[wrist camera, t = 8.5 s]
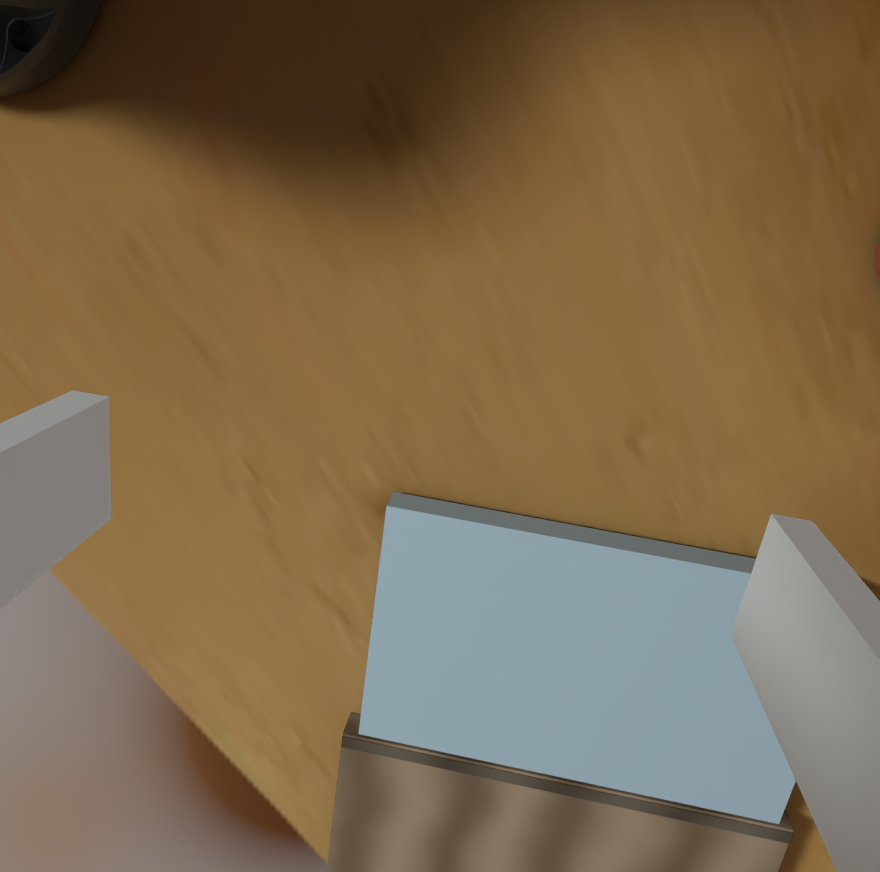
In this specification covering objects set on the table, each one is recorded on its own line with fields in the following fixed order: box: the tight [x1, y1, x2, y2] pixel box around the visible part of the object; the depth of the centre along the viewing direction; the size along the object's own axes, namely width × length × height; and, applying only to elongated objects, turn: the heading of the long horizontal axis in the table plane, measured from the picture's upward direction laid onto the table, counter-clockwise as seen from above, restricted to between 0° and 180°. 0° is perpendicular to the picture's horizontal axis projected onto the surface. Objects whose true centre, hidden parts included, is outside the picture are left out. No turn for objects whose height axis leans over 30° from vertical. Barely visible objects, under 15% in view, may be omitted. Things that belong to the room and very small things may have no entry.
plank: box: [358, 492, 796, 824], centre depth 43 cm, size 26×16×2 cm, turn 82°
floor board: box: [326, 713, 794, 872], centre depth 47 cm, size 28×12×2 cm, turn 82°
